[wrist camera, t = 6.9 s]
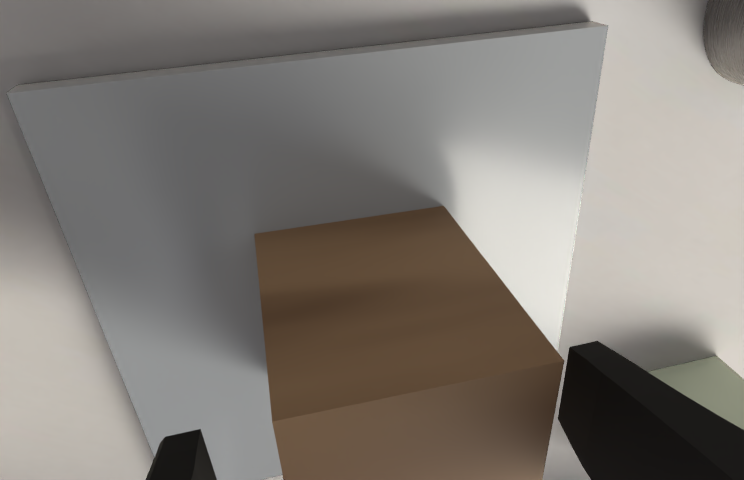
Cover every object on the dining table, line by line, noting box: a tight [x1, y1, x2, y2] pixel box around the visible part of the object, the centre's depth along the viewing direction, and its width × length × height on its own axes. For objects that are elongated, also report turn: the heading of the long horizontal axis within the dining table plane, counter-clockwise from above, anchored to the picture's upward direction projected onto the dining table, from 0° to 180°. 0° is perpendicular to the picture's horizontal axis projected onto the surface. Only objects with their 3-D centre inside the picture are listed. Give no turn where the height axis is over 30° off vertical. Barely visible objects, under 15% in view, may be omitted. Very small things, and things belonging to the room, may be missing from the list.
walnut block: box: [254, 206, 564, 480], centre depth 12 cm, size 4×4×6 cm
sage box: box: [648, 356, 744, 430], centre depth 19 cm, size 4×4×4 cm
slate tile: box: [6, 21, 608, 480], centre depth 14 cm, size 12×12×1 cm
